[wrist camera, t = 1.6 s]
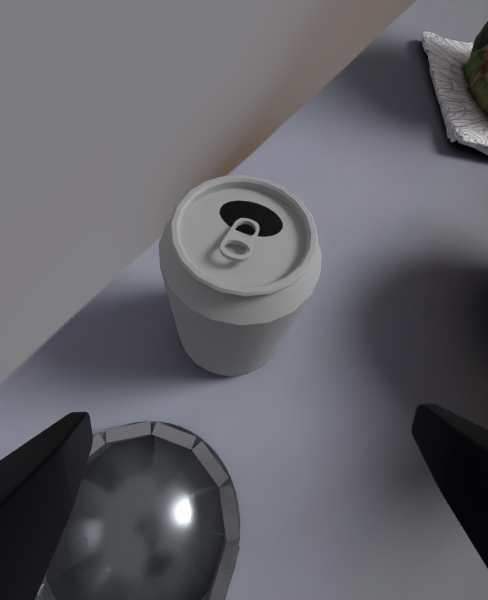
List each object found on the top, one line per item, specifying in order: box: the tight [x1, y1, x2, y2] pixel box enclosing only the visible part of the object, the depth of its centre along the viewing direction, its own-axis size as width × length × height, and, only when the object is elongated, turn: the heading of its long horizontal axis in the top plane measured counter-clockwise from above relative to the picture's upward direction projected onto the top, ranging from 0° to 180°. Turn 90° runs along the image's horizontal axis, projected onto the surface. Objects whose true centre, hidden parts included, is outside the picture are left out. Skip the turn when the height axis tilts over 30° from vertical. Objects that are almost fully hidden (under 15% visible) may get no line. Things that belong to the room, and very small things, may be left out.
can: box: [159, 175, 322, 376], centre depth 18 cm, size 8×8×12 cm
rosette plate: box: [35, 421, 240, 600], centre depth 17 cm, size 11×11×2 cm
